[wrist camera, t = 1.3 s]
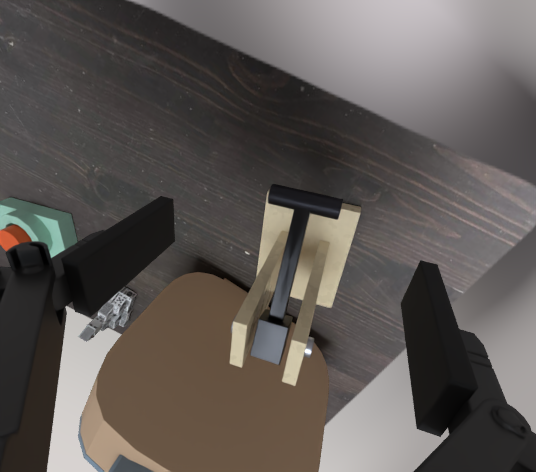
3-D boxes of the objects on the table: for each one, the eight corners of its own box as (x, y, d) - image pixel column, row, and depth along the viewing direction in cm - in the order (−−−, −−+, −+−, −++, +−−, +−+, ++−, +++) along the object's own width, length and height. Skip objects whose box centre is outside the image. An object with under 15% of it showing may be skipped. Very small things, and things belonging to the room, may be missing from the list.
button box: (10, 195, 43) (-21, 206, 40) (70, 212, 41) (44, 225, 38) (33, 266, 49) (9, 281, 46) (87, 283, 47) (65, 300, 44)
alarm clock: (173, 297, 43) (31, 465, 25) (197, 252, 38) (40, 423, 20) (295, 376, 44) (242, 595, 26) (335, 343, 39) (303, 587, 21)
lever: (275, 185, 23) (269, 181, 21) (342, 200, 22) (343, 198, 20) (240, 336, 24) (230, 349, 22) (302, 356, 24) (299, 372, 21)
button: (6, 221, 40) (-8, 227, 39) (29, 227, 39) (15, 234, 38) (14, 244, 42) (1, 251, 40) (36, 251, 41) (24, 258, 40)
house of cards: (88, 255, 44) (40, 288, 38) (141, 286, 44) (101, 324, 38) (82, 294, 49) (38, 329, 43) (129, 322, 49) (92, 361, 43)
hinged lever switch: (271, 186, 31) (206, 267, 19) (361, 206, 30) (354, 309, 17) (258, 279, 38) (203, 386, 25) (332, 299, 36) (312, 425, 23)
